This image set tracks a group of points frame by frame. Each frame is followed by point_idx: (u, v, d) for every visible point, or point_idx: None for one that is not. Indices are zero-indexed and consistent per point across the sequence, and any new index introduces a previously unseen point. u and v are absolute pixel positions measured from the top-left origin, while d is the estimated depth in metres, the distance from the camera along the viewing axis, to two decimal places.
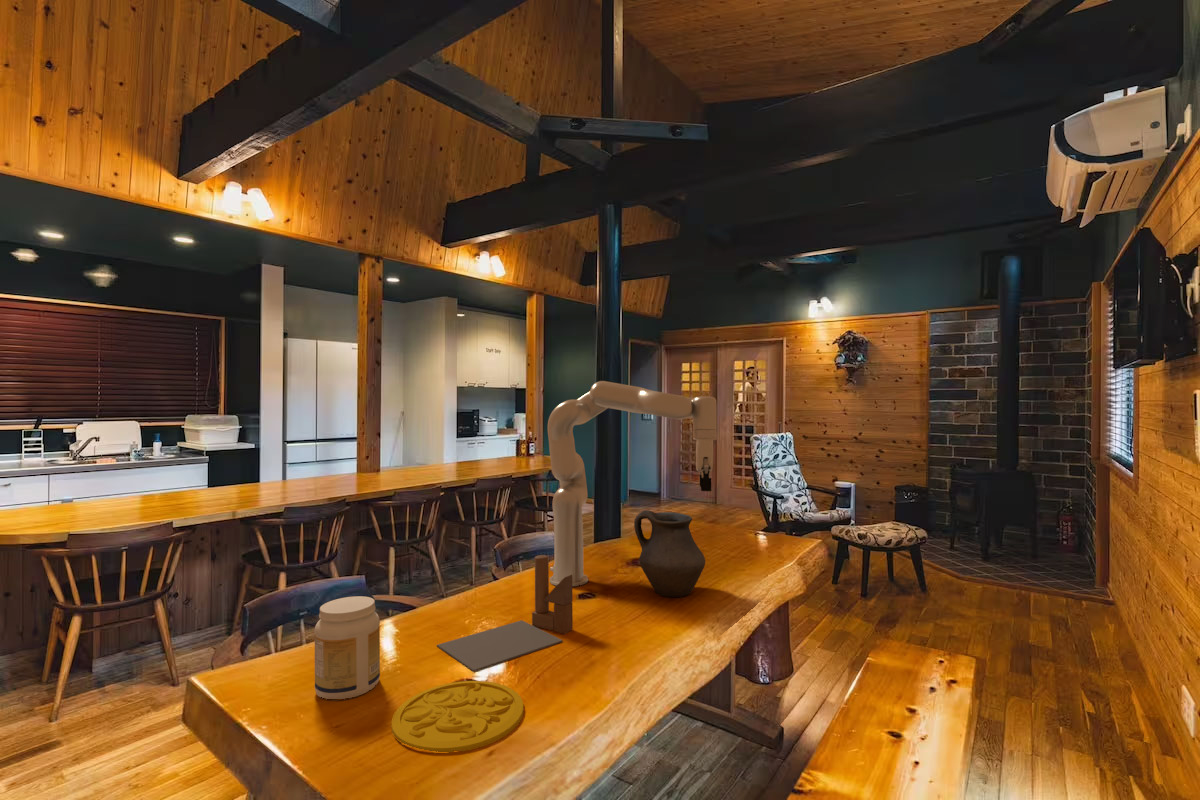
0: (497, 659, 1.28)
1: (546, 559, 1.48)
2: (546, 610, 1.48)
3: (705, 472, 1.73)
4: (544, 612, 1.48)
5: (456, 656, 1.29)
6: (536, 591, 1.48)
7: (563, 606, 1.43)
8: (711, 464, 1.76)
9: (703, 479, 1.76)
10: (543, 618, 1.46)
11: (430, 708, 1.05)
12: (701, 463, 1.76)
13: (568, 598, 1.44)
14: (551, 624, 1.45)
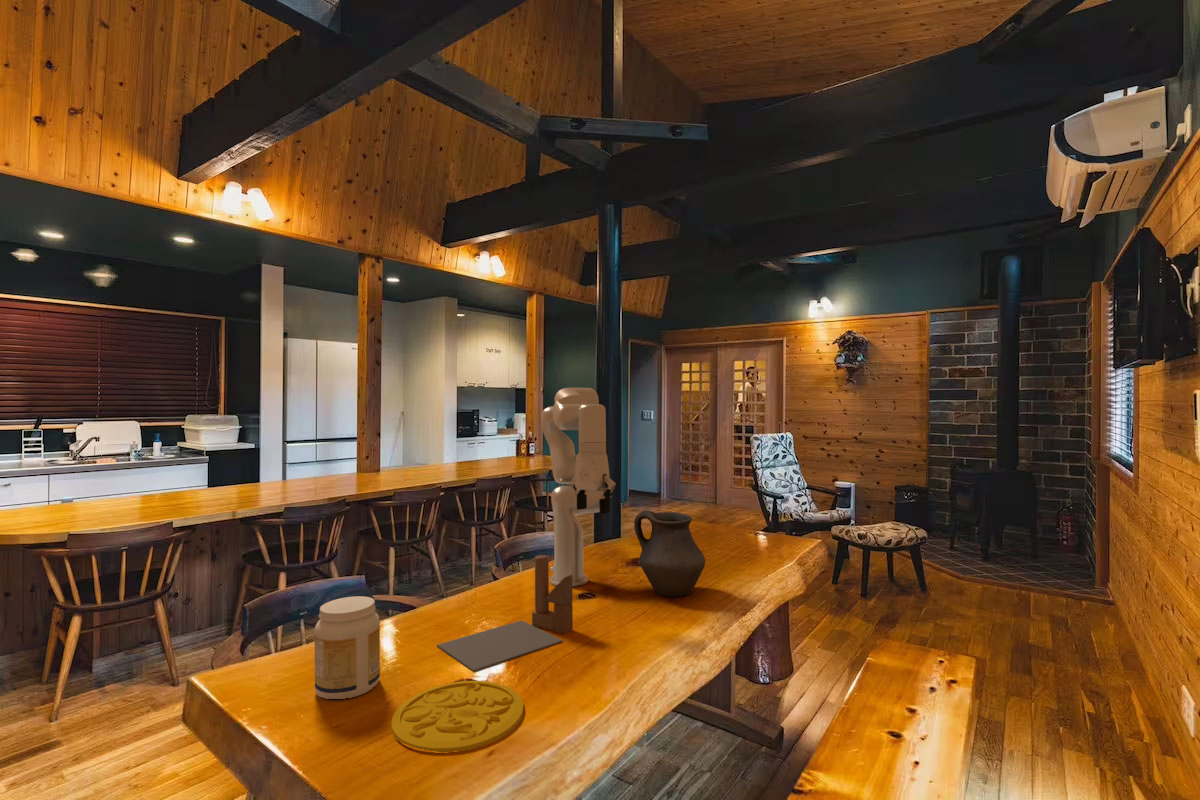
0: (497, 659, 1.28)
1: (546, 559, 1.48)
2: (546, 610, 1.48)
3: (610, 491, 1.51)
4: (544, 612, 1.48)
5: (456, 656, 1.29)
6: (536, 591, 1.48)
7: (563, 606, 1.43)
8: None
9: (603, 500, 1.52)
10: (543, 618, 1.46)
11: (430, 708, 1.05)
12: (601, 481, 1.52)
13: (568, 598, 1.44)
14: (551, 624, 1.45)
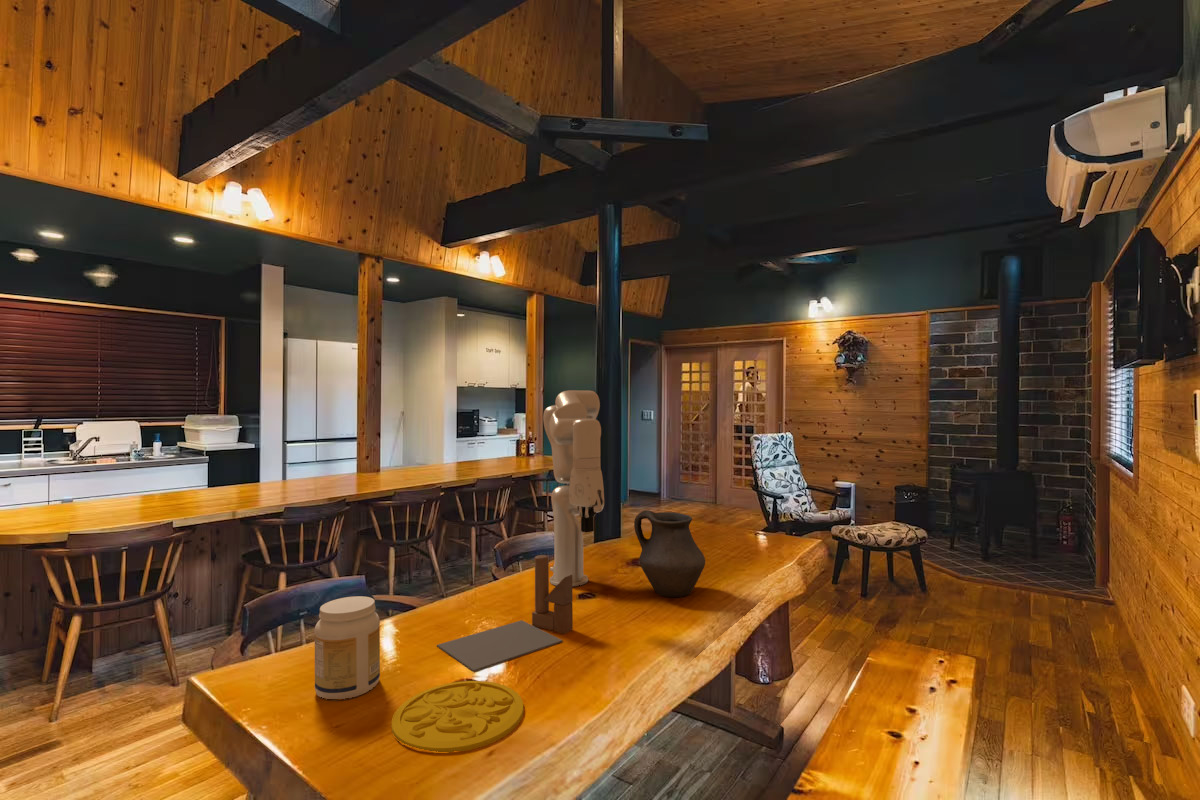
0: (497, 659, 1.28)
1: (546, 559, 1.48)
2: (546, 610, 1.48)
3: (593, 512, 1.53)
4: (544, 612, 1.48)
5: (456, 656, 1.29)
6: (536, 591, 1.48)
7: (563, 606, 1.43)
8: (603, 497, 1.53)
9: (587, 518, 1.54)
10: (543, 618, 1.46)
11: (430, 708, 1.05)
12: None
13: (568, 598, 1.44)
14: (551, 624, 1.45)
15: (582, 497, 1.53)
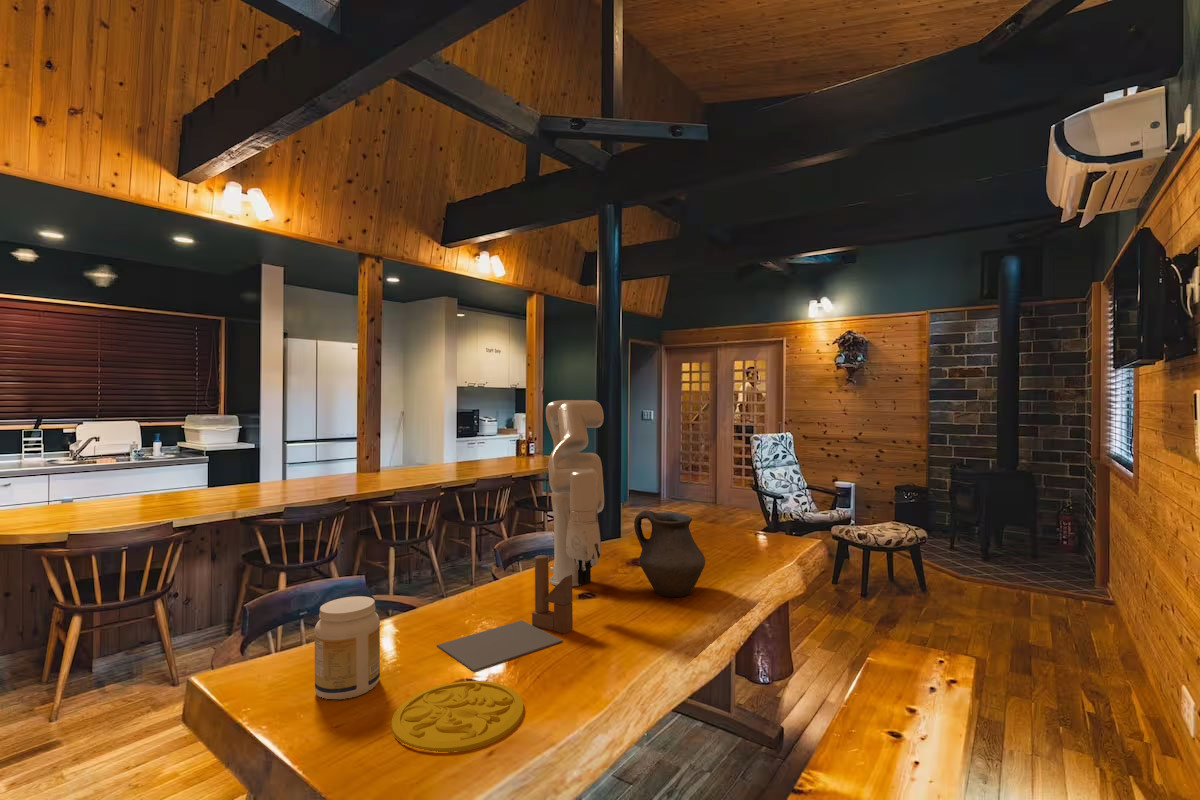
0: (497, 659, 1.28)
1: (546, 559, 1.48)
2: (546, 610, 1.48)
3: (590, 565, 1.52)
4: (544, 612, 1.48)
5: (456, 656, 1.29)
6: (536, 591, 1.48)
7: (563, 606, 1.43)
8: (600, 551, 1.52)
9: (584, 571, 1.53)
10: (543, 618, 1.46)
11: (430, 708, 1.05)
12: None
13: (568, 598, 1.44)
14: (551, 624, 1.45)
15: (579, 550, 1.52)
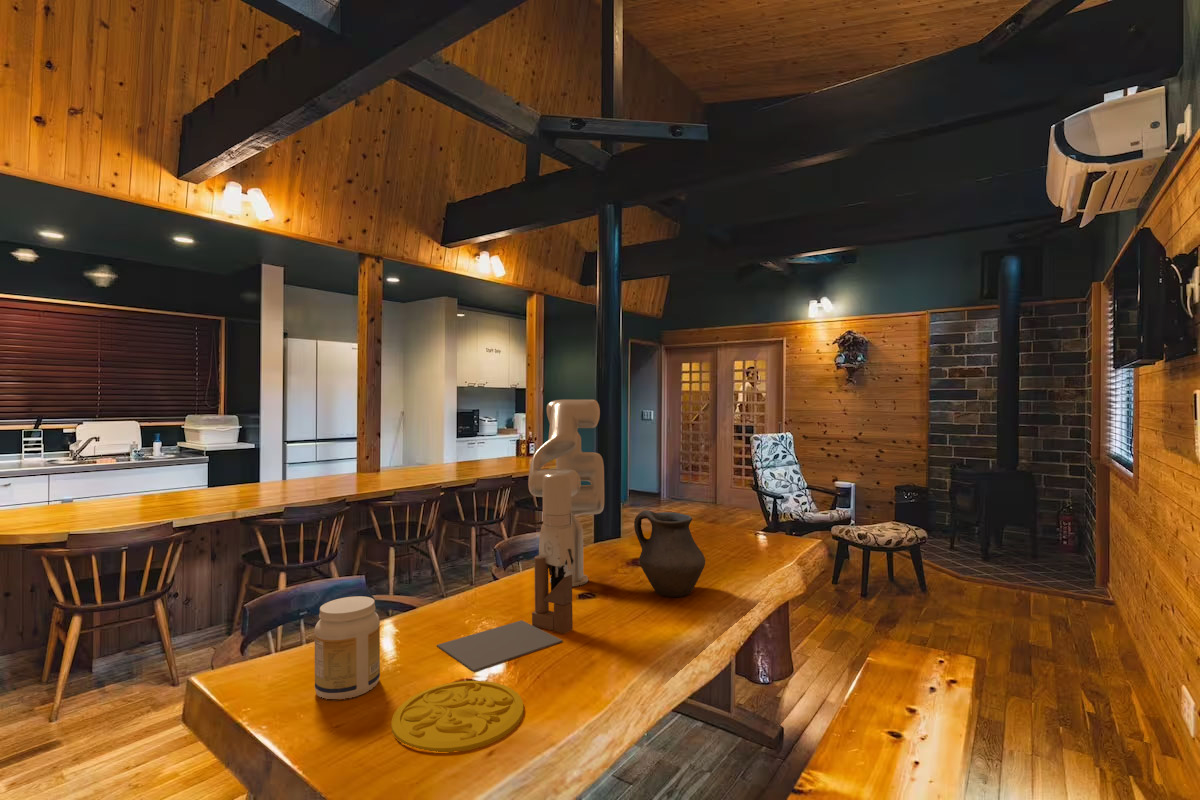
0: (497, 659, 1.28)
1: None
2: (546, 610, 1.48)
3: (563, 571, 1.46)
4: (544, 612, 1.48)
5: (456, 656, 1.29)
6: (536, 591, 1.48)
7: (563, 606, 1.43)
8: (574, 556, 1.46)
9: (557, 578, 1.47)
10: (543, 618, 1.46)
11: (430, 708, 1.05)
12: None
13: (568, 598, 1.44)
14: (551, 624, 1.45)
15: (551, 556, 1.46)
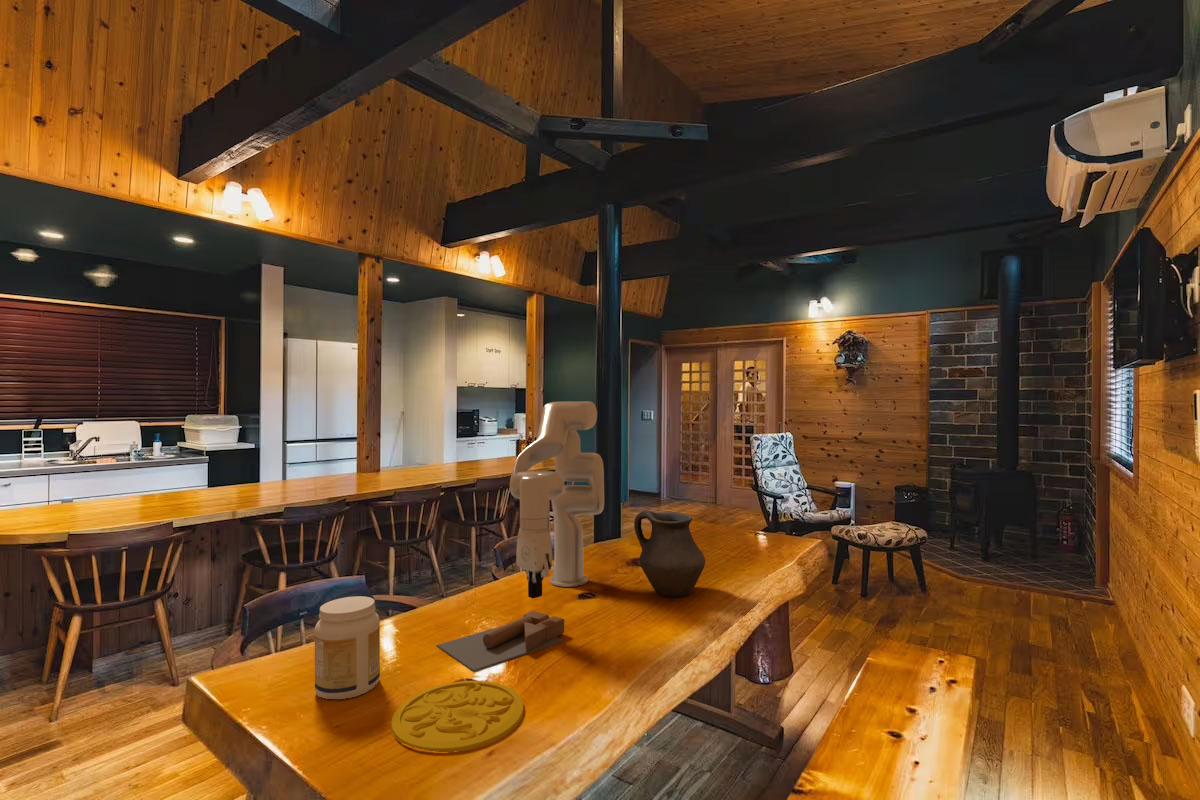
0: (497, 659, 1.28)
1: (494, 642, 1.32)
2: None
3: (541, 577, 1.42)
4: None
5: (456, 656, 1.29)
6: None
7: (545, 641, 1.37)
8: None
9: (535, 583, 1.43)
10: None
11: (430, 708, 1.05)
12: None
13: (542, 637, 1.36)
14: None
15: (528, 561, 1.41)
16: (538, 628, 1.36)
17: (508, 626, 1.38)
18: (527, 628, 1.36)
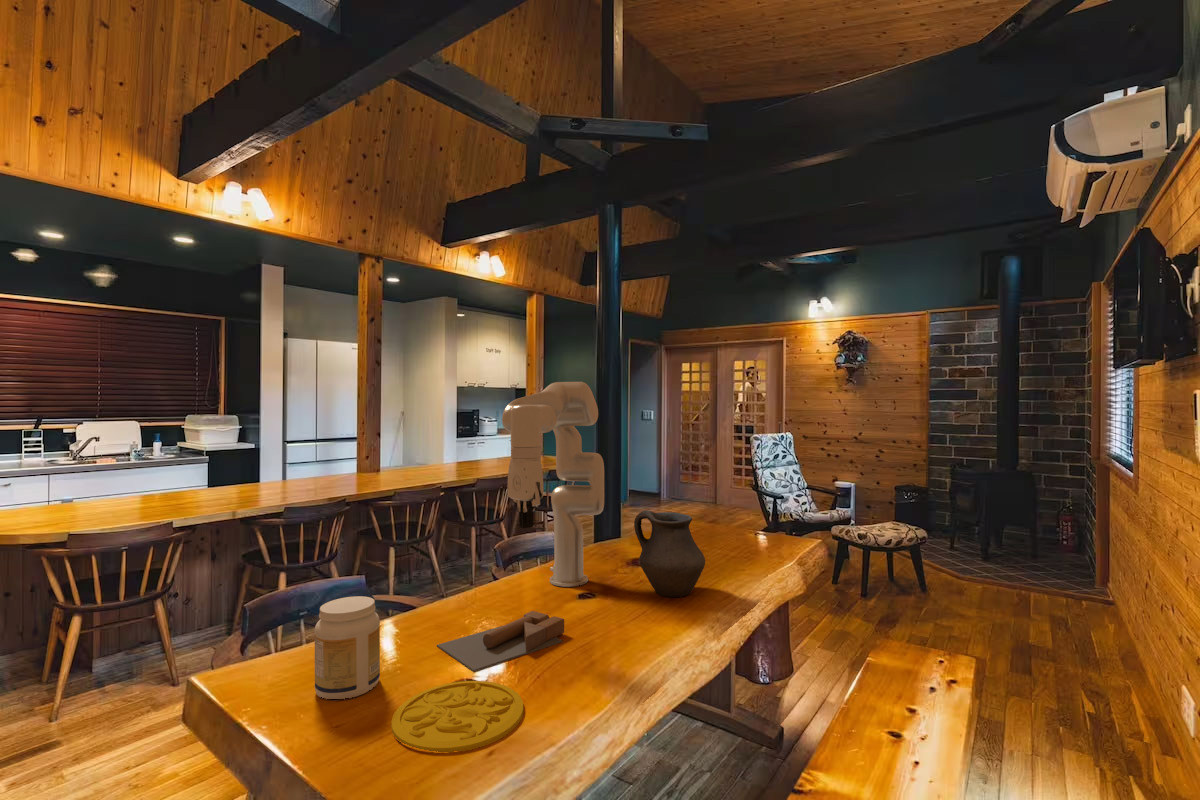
0: (497, 659, 1.28)
1: (494, 642, 1.32)
2: None
3: (532, 506, 1.40)
4: None
5: (456, 656, 1.29)
6: None
7: (545, 641, 1.37)
8: None
9: (526, 513, 1.41)
10: None
11: (430, 708, 1.05)
12: None
13: (542, 637, 1.36)
14: None
15: (519, 490, 1.40)
16: (538, 628, 1.36)
17: (508, 626, 1.38)
18: (527, 628, 1.36)
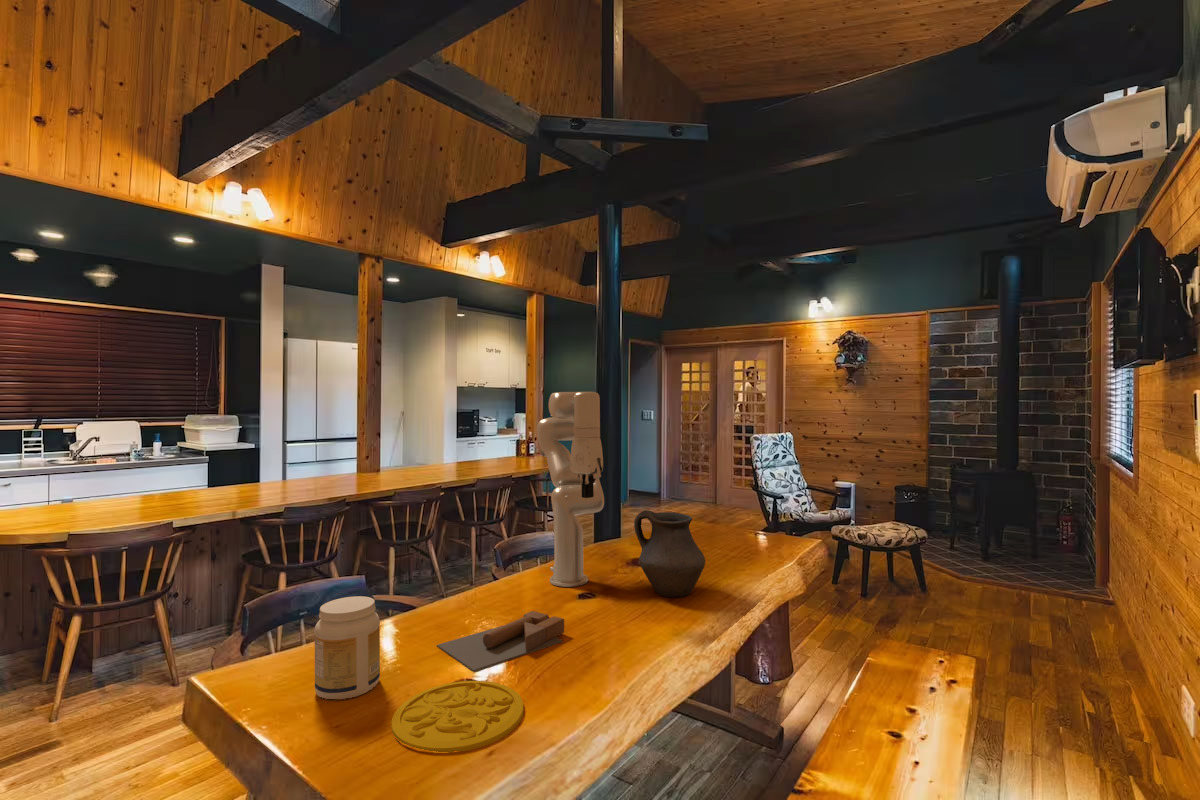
0: (497, 659, 1.28)
1: (494, 642, 1.32)
2: None
3: (593, 479, 1.63)
4: None
5: (456, 656, 1.29)
6: None
7: (545, 641, 1.37)
8: None
9: (587, 485, 1.64)
10: None
11: (430, 708, 1.05)
12: None
13: (542, 637, 1.36)
14: None
15: (582, 465, 1.62)
16: (538, 628, 1.36)
17: (508, 626, 1.38)
18: (527, 628, 1.36)
